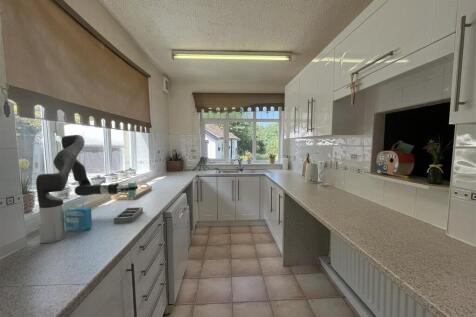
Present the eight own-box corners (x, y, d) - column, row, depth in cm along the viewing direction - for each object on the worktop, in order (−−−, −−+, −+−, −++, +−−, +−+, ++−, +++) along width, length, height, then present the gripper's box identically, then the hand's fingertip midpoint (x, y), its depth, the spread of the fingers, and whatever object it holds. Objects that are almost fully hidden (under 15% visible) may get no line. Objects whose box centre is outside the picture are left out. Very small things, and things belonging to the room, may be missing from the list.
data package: (65, 230, 123) (64, 209, 122) (71, 227, 128) (70, 207, 127) (86, 230, 123) (85, 209, 122) (92, 227, 127) (91, 207, 127)
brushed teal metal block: (134, 197, 151) (134, 182, 150) (128, 197, 150) (128, 182, 149) (136, 196, 154) (135, 181, 153) (130, 196, 154) (129, 181, 153)
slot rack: (132, 222, 136) (132, 216, 135) (113, 223, 134) (113, 217, 134) (142, 211, 157) (142, 206, 157) (127, 212, 156) (126, 207, 156)
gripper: (104, 185, 143) (133, 184, 145) (113, 181, 157) (139, 180, 159) (105, 196, 143) (133, 195, 145) (114, 191, 157) (139, 191, 159)
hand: (136, 187), depth 152 cm, fingers closed on brushed teal metal block, 3 cm apart
